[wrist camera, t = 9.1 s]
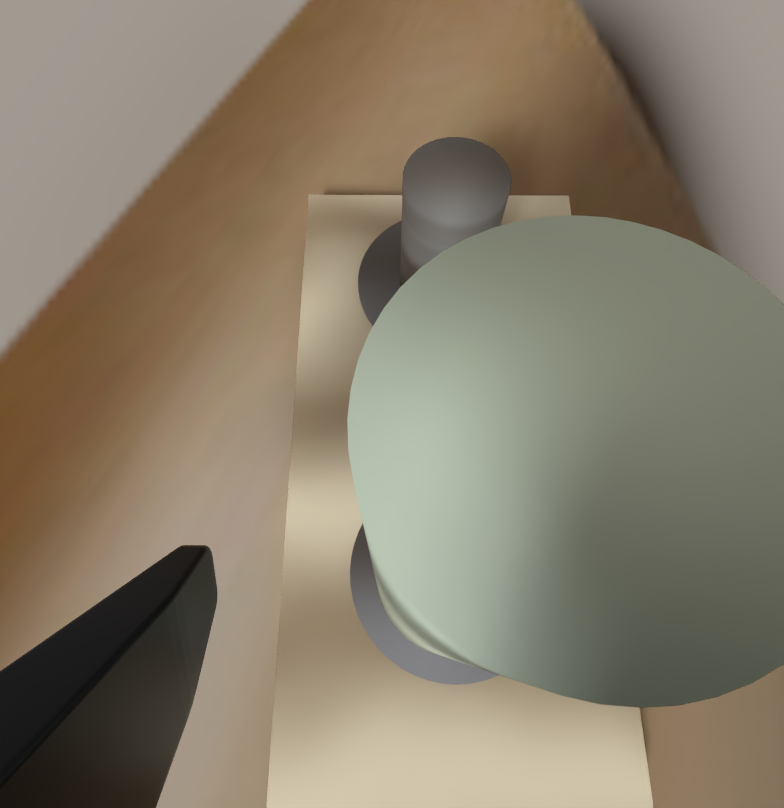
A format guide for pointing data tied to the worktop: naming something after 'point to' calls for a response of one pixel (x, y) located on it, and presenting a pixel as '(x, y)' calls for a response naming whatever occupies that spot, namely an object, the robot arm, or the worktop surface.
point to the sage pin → (579, 461)
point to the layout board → (353, 571)
